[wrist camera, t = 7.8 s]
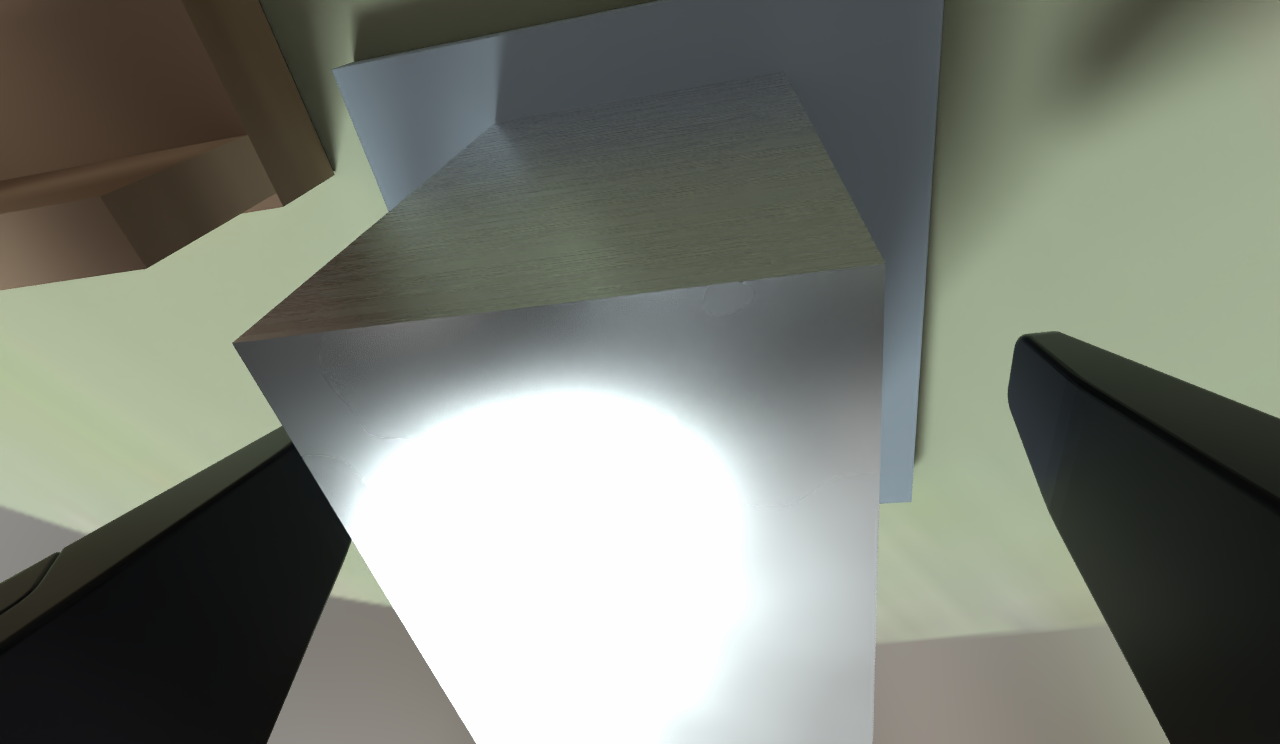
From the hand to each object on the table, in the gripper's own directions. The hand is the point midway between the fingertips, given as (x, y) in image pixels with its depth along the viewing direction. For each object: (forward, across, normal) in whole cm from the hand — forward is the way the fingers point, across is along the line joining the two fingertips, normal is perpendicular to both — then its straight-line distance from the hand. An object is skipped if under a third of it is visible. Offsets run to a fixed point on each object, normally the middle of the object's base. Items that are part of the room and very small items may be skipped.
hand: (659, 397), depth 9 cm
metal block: (+2, 0, 0) cm, 2 cm away
